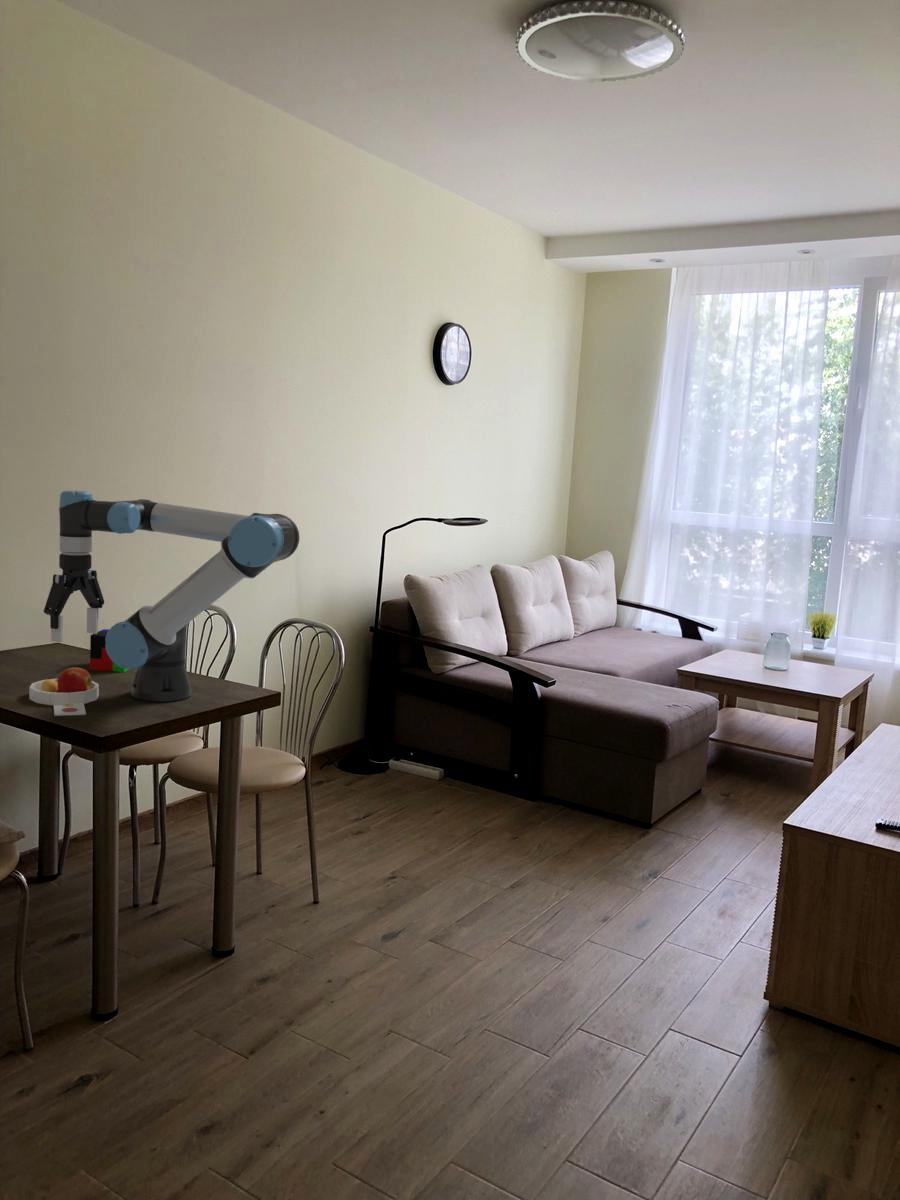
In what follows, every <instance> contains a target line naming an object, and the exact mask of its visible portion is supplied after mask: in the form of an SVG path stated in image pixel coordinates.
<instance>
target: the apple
mask: <svg viewBox="0 0 900 1200" xmlns="http://www.w3.org/2000/svg"><path fill="white" fill-rule="evenodd" d="M57 678H58V690H57V691H58V692H57V693H71V692H80V691H86V690H89V689H91V687H92V681H93V680H92V676H91V674H90V672H89V671H88V670H86V669H84V668H82V667H77V666H76V667H75V666H74V667H73V666H72V667H67V668H65V669H64V670H62V671H61V672H59V674H58V675H57Z"/></svg>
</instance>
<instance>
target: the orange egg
mask: <svg viewBox="0 0 900 1200" xmlns="http://www.w3.org/2000/svg"><path fill="white" fill-rule="evenodd" d="M47 679H48V678H47ZM47 679H44V680H45V681H44V682H43V683H42V686H41V689H42V691H45V692H52V693H58V692H57V691H58V684H57V682H56V681H54V680H52V679H53V678H50V679H48V680H47Z"/></svg>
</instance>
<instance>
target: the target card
mask: <svg viewBox="0 0 900 1200" xmlns="http://www.w3.org/2000/svg"><path fill="white" fill-rule="evenodd" d="M53 715H54V717H58V716H86V715H87V712H86V708H85V704H84V702H83V703H72V704H54V705H53Z"/></svg>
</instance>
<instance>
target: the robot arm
mask: <svg viewBox="0 0 900 1200" xmlns="http://www.w3.org/2000/svg"><path fill="white" fill-rule="evenodd" d="M58 510H59V551H60V552H61V553H59V558H58V559H59V561H58V562H59V563H58V565H59V566H58V567H59V568H60V569H61V570H62V574H56V573H55V574H53V576H52V583H51V587H50V591H49V593H48V596H47V599H46V602H45V606H44V609H43V614H46V615H48V616H50V619H49V620H50V621H49V622H50V625H49V626H50V627H49V628H50V635H51V636H50V639H51V640H50V641H51V642H53V643H54V642H55V643H63V633H64V632H63V625H64V624H63V622H64V621H63V617H64V616H63V615H61V613H62V611H63V609H64V607H65V606H66V604H67V601H68V600H69V599H70V596H71V595H72V594H73V593H74V592H77V591H79V592H80V593H81V595H82V597H84V600H85V602H86V603H87V604H88V606H89V607H87V608H86V633H87V634H91V635H92V634H97V633H98V632H99V631H98V627H99V625H98V621H99V609H103V605H104V604H105V598H104V596H103V592H102V590H101V587H100V583H99V580H98V573H97V572H98V571H96V570H95V569H94V570H93V569H92V559H93V558H92V555H91V554H90V553H92V551H93V544H92V542H93V539H92V535H93V534H92V532H93V531H94V532H96V531H97V532H105V533H115V534H120V535H122V534H133V533H135V532H136V530H138V531H146V532H153V533H154V532H156V533H162V534H169V535H175V536H182V537H186V538H187V537H188V538H193V539H201V540H207V541H212V542H213V541H214V542H219V543H220V550H219V551H218V552H217V553H215V554H214V556H212V557H210V558H209V559H208V560H207V561H206V562H204V563H203V565H201V566H200V567H198V568H197V569H196V570H195V571H194V572H192V573H191V574H190V575H189V576H188V577H187V578H185V579H184V580H183V581H182V582H181V583H179V584H178V585H177V586H176V587H175V588H173V589H172V590H171V591H169V592H168V593H167V594H166V595H165V596H163V597H162V598H161V599H160V600H159V601H157V602H156V603H155V604H154V605H153V606H152V605H143V606H142V607H140V608H139V609H138V610H137V611H136V612H134V613H133V614H132V615H130V616H129V617H128V618H127V619H125V620H124V621H119V622H116V623H115V624H113V625H112V626H111V627H110V628H109V631H108V632H107V635H106V638H105V641H106V645H105V647H106V651H107V654H108V656H109V657H110V659H111V660H112V661H113V662H114V663H115V664H116V665H118V666H119V667H122V668H125V669H129V670H132V669H137V671H136V672H135V676H134V679H133V681H132V685H131V689H130V690H131V692H130V693H131V697H133V698H134V699H137V700H140V701H141V700H142V701H147V702H175V701H181V699H182V700H185V699H188V698H190V697H191V695H192V685H191V682H190V679H189V675H188V672H187V668H186V655H187V654H186V651H187V650H186V649H187V627H188V624H189V623H191V621H193V620H194V619H195V618H196V617H198V616H199V615H201V614H202V613H203V612H204V611H206V609H207V608H209V607H210V606H212V605H213V604H214V603H215V602H216V601H218V600H219V599H221V597H223V596H224V595H225V594H226V593H227V592H228V591H230V590H232V588H233V587H235V586H236V585H237V584H239V582H241V581H242V580H243V579H245V578H246V579H255V578H256V577H257V576H258V575H260V574H261V573H262V572H264V571H265V570H266V569H267V568H268V567H270V566H271V565H273V563H277V562H279V561H283V560H286V559H287V558H290V557H291V556H292V555H293V554H294V553H295V552H296V550H297V549H298V547H299V544H300V531H299V529H298V528H299V527H297V524H296V523H295V522H294V521H293V520H292V519H291V518H290V517H289V516H287V515H285V514H280V513H260V512H259V513H258V512H253V513H251V514H250V515H247V514H246V515H244V514H236V513H232V512H224V511H217V510H211V509H210V510H209V509H203V508H197V507H189V506H183V505H177V504H176V505H175V504H170V503H162V502H155V501H154V500H151V499H143V498H141V499H136V500H119V501H105V500H96V499H94V498H93V493H92V492H91V491H86V490H85V491H84V490H63V491H61V493H60V496H59V506H58ZM189 696H190V697H189Z"/></svg>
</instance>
